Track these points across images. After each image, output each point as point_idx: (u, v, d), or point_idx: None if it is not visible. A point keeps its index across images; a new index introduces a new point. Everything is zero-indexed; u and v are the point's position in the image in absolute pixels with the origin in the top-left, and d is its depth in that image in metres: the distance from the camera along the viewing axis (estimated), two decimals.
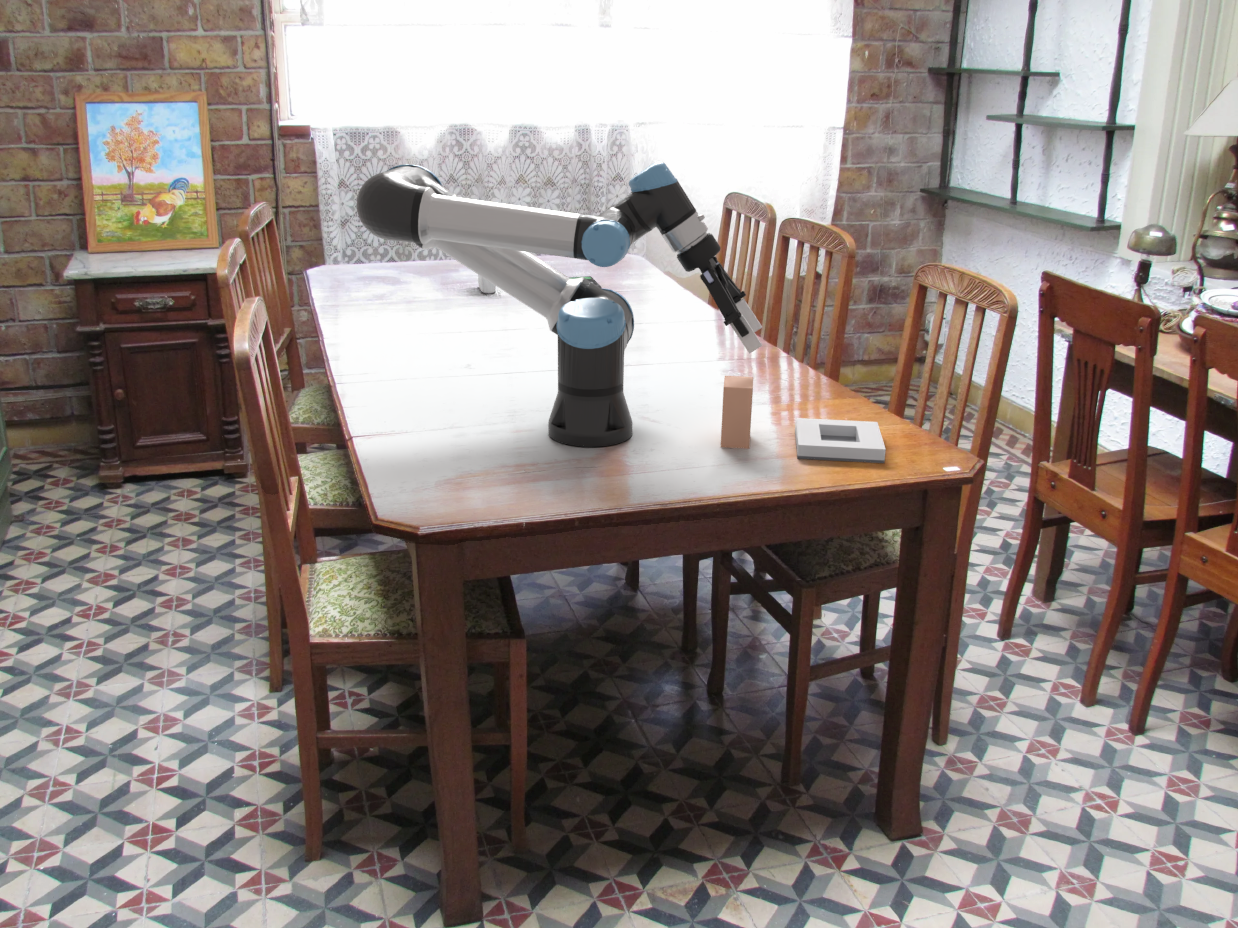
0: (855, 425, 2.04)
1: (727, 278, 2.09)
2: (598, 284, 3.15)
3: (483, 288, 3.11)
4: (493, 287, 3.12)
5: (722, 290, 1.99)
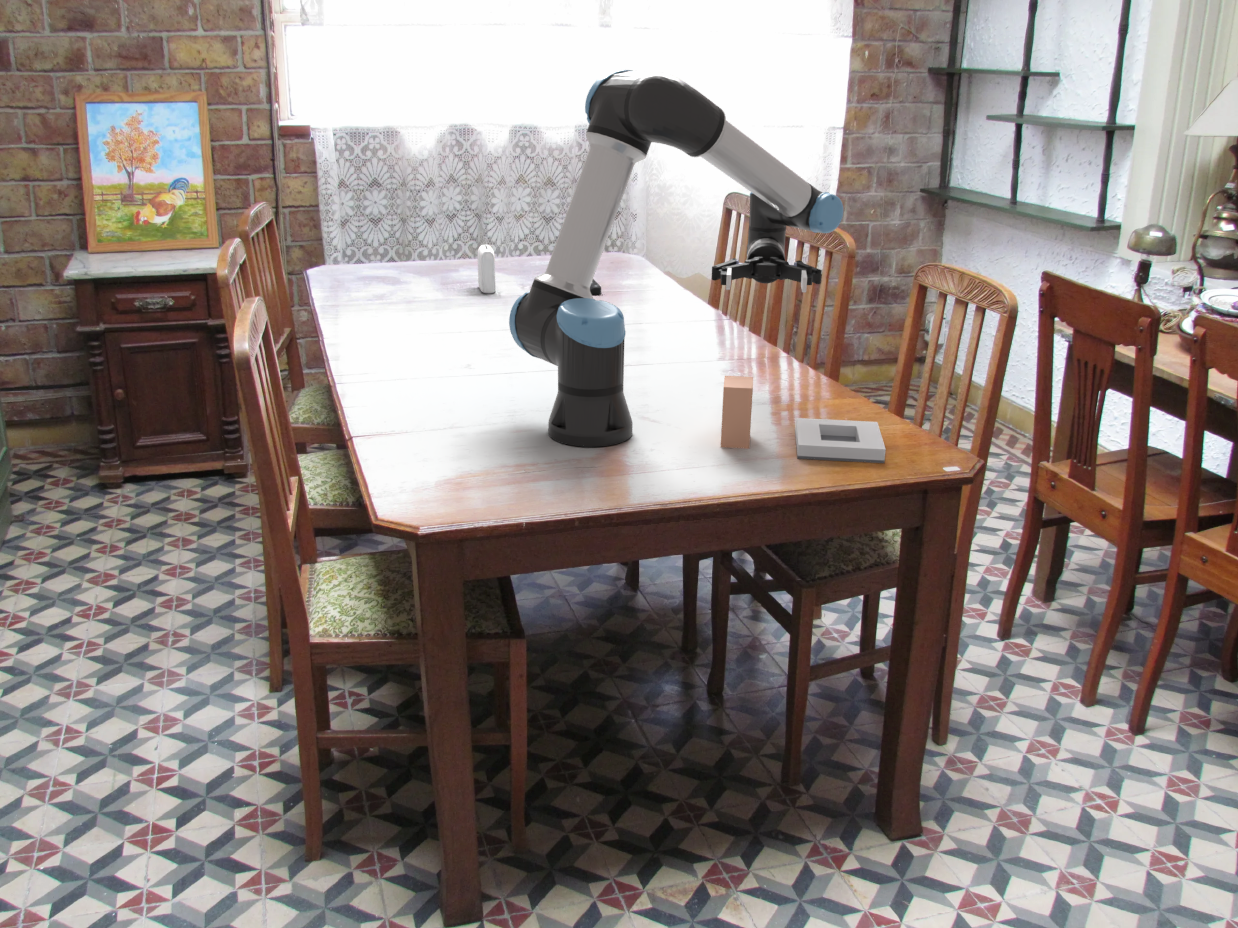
0: (855, 425, 2.04)
1: (750, 277, 2.16)
2: (598, 284, 3.15)
3: (483, 288, 3.11)
4: (493, 287, 3.12)
5: None
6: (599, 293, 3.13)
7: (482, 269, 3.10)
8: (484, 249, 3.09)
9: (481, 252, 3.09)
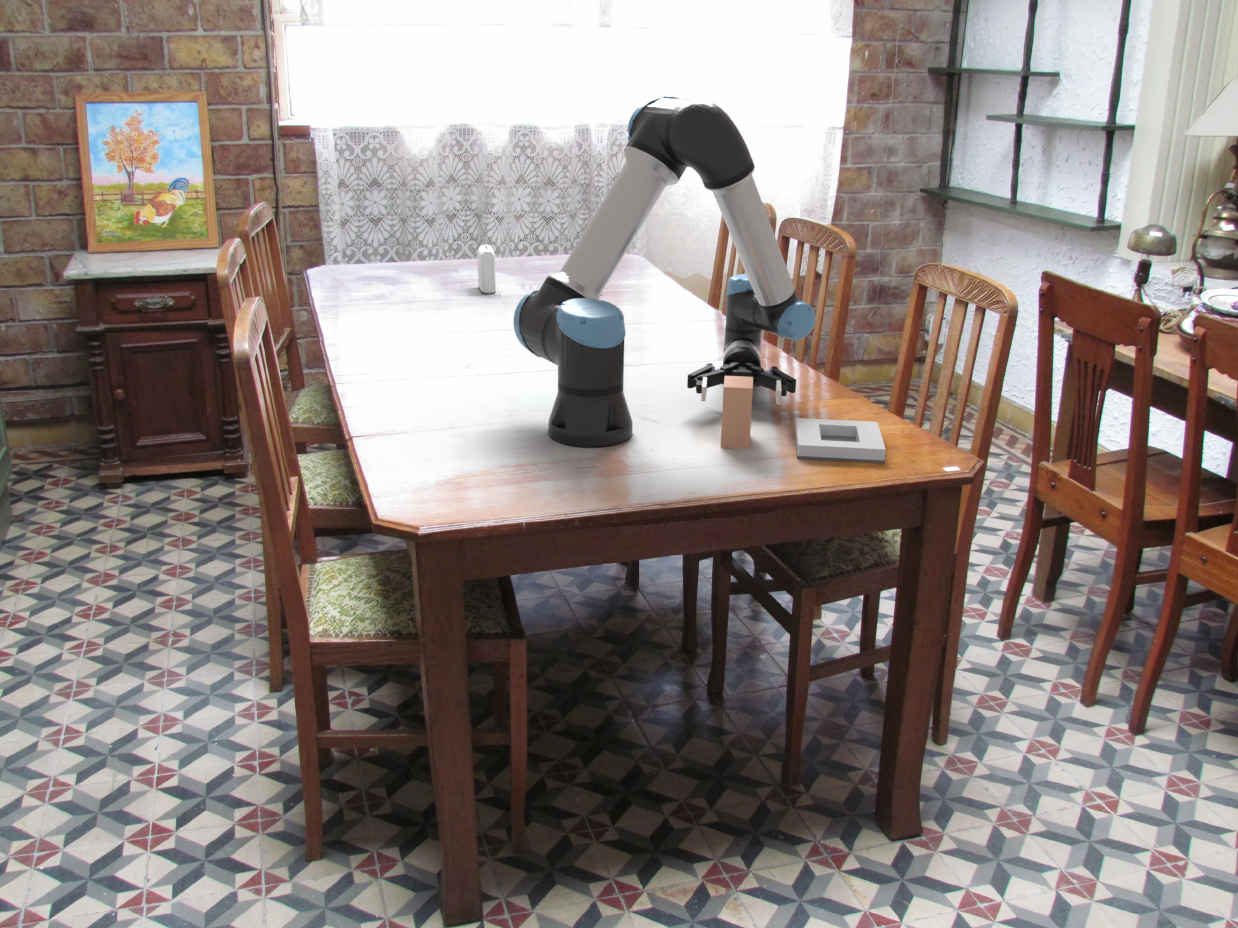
0: (855, 425, 2.04)
1: None
2: None
3: (483, 288, 3.11)
4: (493, 287, 3.12)
5: None
6: None
7: (482, 269, 3.10)
8: (484, 249, 3.09)
9: (481, 252, 3.09)
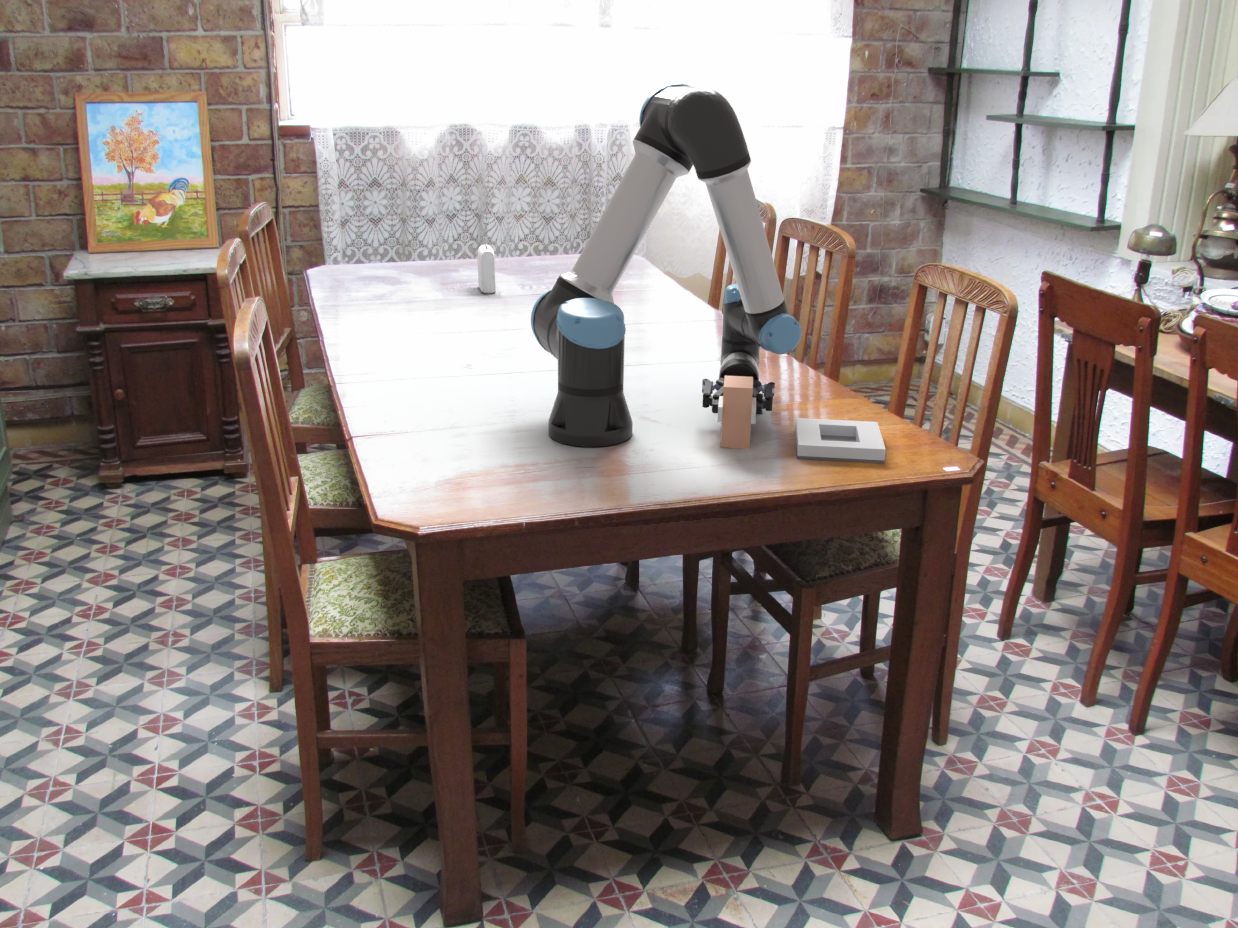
0: (855, 425, 2.04)
1: None
2: None
3: (483, 288, 3.11)
4: (493, 287, 3.12)
5: None
6: None
7: (482, 269, 3.10)
8: (484, 249, 3.09)
9: (481, 252, 3.09)
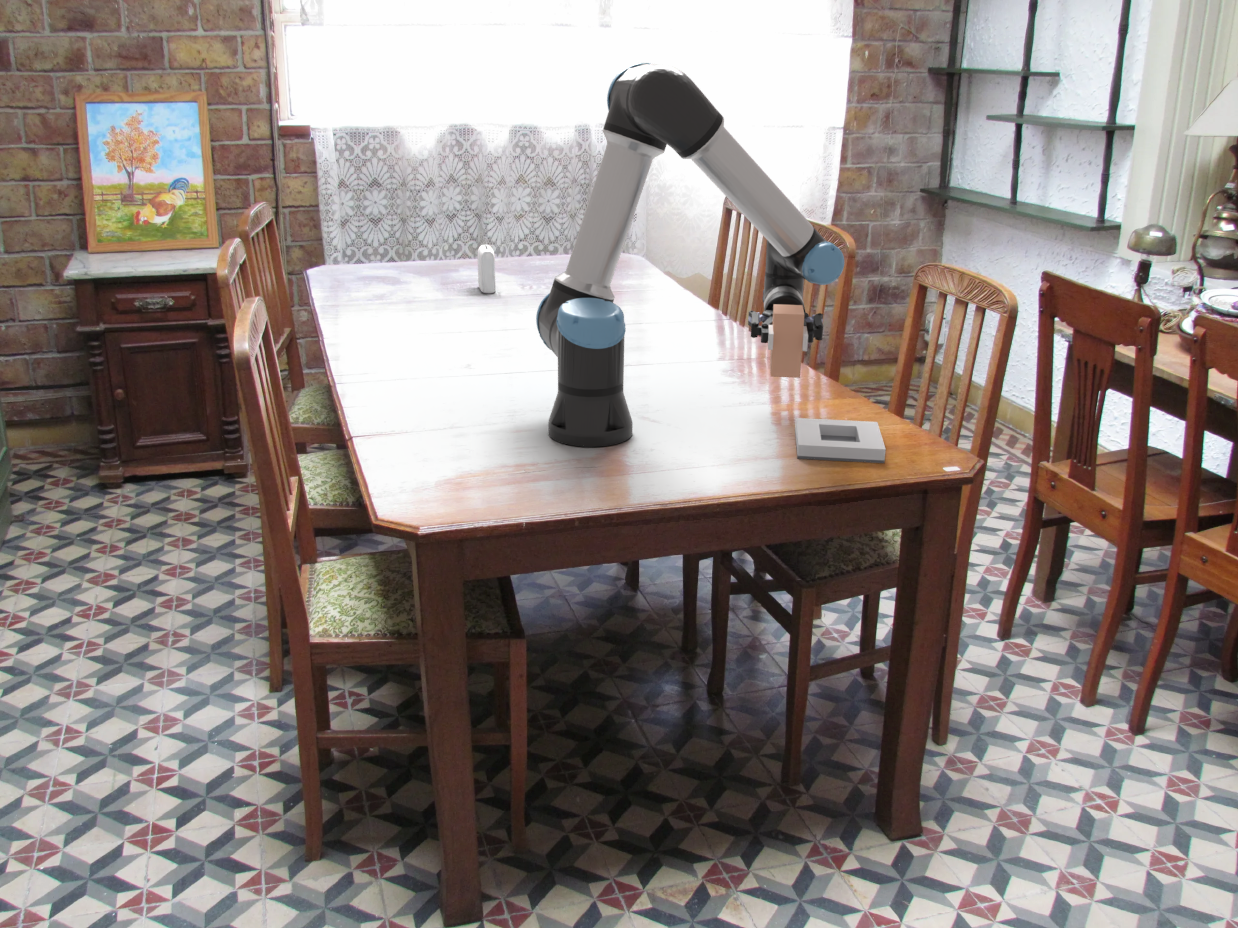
0: (855, 425, 2.04)
1: None
2: None
3: (483, 288, 3.11)
4: (493, 287, 3.12)
5: None
6: None
7: (482, 269, 3.10)
8: (484, 249, 3.09)
9: (481, 252, 3.09)
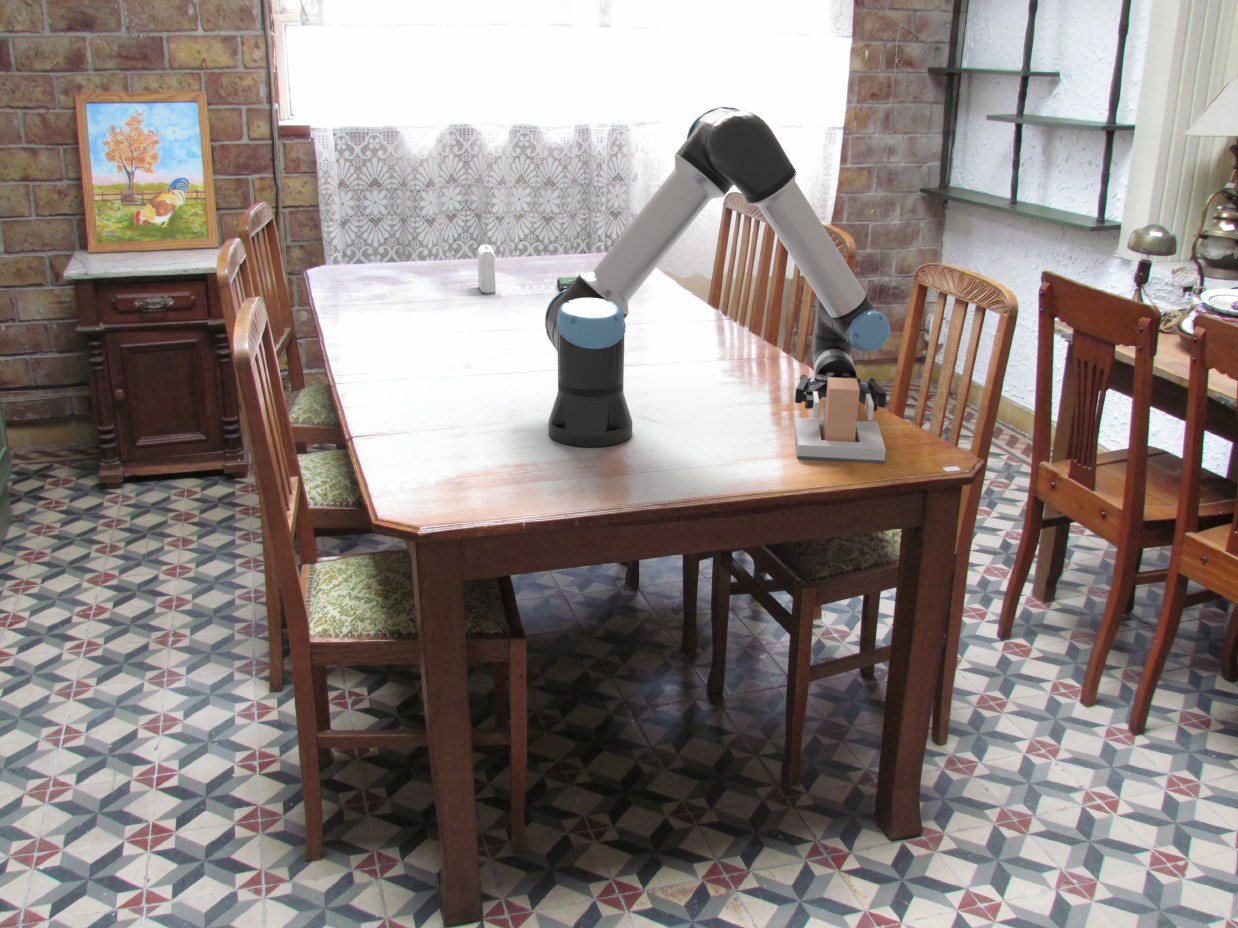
0: None
1: None
2: None
3: (483, 288, 3.11)
4: (493, 287, 3.12)
5: None
6: None
7: (482, 269, 3.10)
8: (484, 249, 3.09)
9: (481, 252, 3.09)
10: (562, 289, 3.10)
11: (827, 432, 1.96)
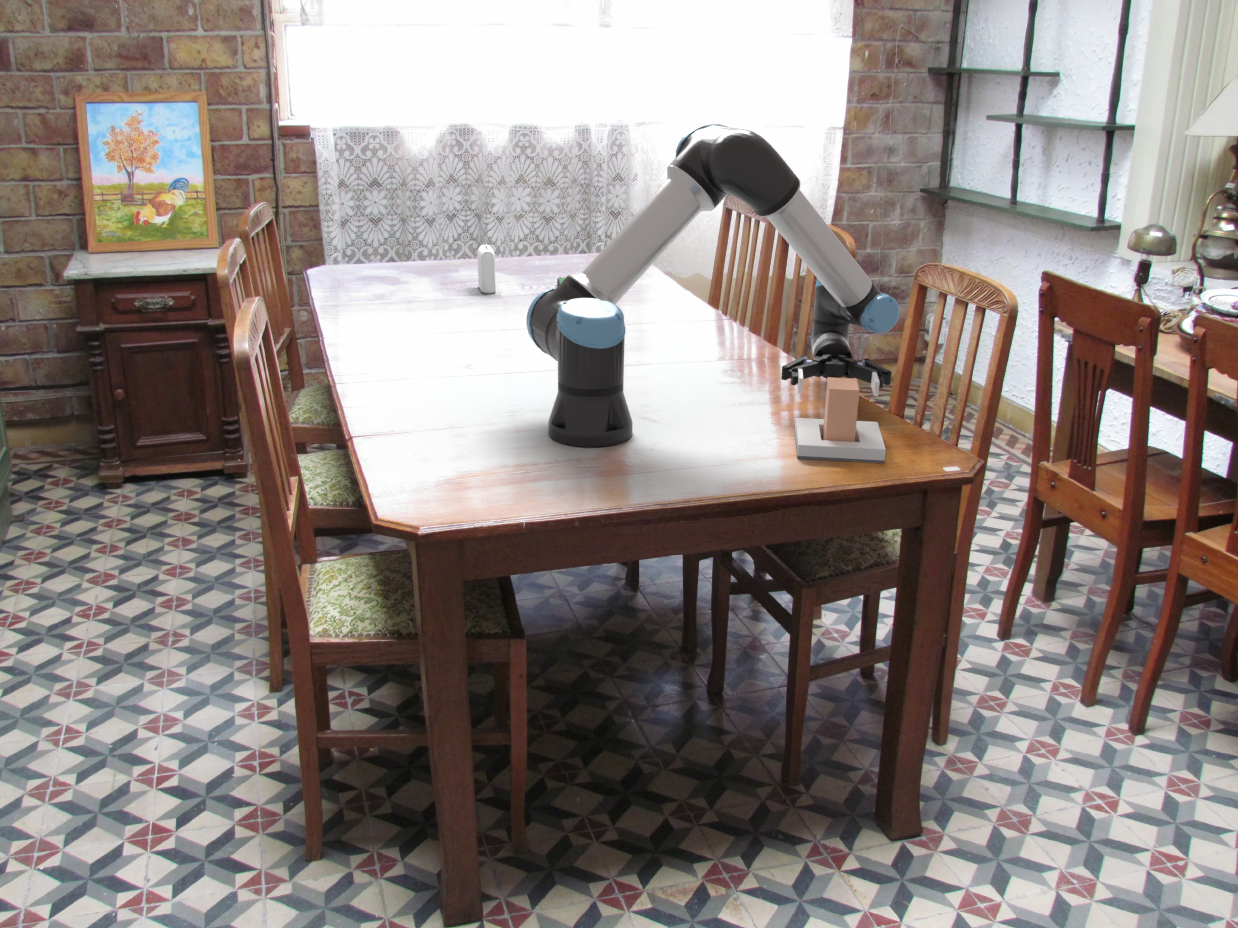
0: None
1: (818, 375, 2.18)
2: None
3: (483, 288, 3.11)
4: (493, 287, 3.12)
5: None
6: None
7: (482, 269, 3.10)
8: (484, 249, 3.09)
9: (481, 252, 3.09)
10: None
11: (827, 432, 1.96)
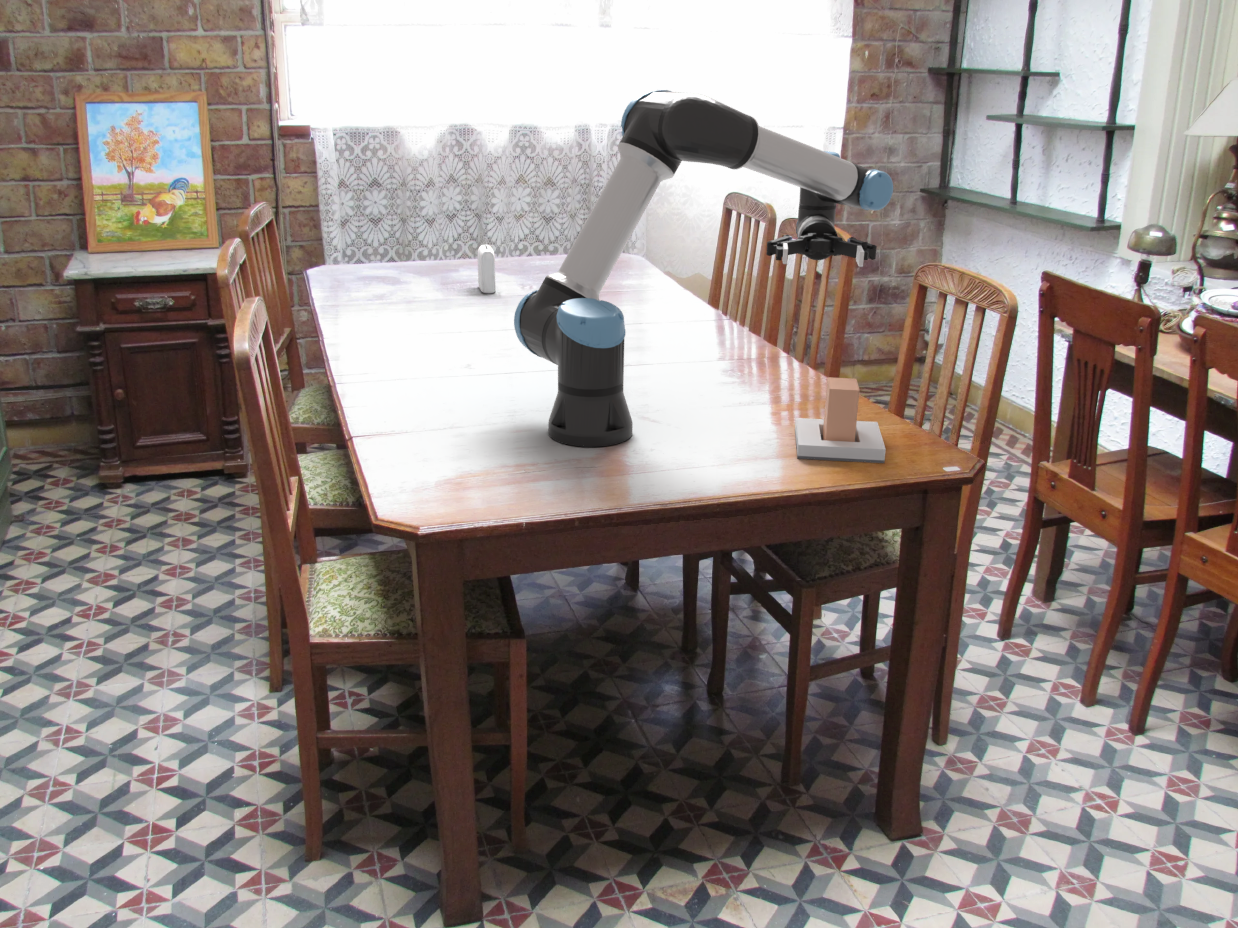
0: None
1: (804, 253, 2.18)
2: None
3: (483, 288, 3.11)
4: (493, 287, 3.12)
5: None
6: None
7: (482, 269, 3.10)
8: (484, 249, 3.09)
9: (481, 252, 3.09)
10: None
11: (827, 432, 1.96)
